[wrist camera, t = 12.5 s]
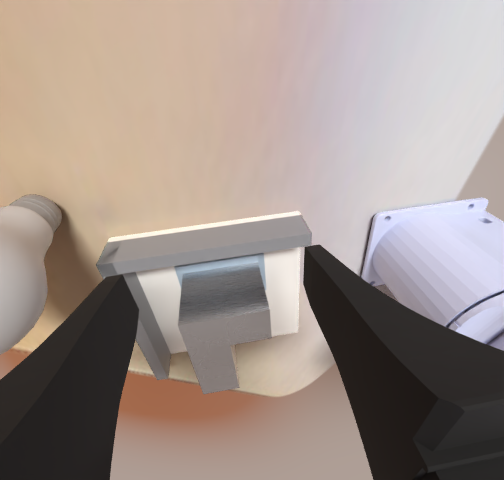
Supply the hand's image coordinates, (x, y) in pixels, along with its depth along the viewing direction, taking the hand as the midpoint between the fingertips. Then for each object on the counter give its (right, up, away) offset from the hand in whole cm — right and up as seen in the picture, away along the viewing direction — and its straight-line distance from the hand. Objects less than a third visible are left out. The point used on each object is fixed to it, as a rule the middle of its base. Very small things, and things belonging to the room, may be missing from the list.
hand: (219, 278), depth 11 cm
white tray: (-1, -3, +13) cm, 14 cm away
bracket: (-1, -4, +13) cm, 14 cm away
